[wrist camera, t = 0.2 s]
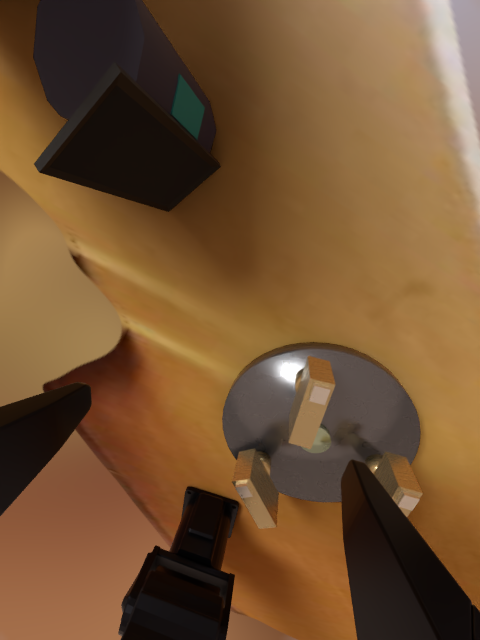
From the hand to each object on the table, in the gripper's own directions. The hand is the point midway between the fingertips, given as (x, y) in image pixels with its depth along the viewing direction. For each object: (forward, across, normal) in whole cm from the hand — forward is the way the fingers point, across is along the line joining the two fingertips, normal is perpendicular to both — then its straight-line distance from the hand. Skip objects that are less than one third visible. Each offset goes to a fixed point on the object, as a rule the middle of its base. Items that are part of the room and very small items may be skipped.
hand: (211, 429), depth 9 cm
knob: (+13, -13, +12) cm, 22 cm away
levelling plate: (+14, -7, +10) cm, 19 cm away
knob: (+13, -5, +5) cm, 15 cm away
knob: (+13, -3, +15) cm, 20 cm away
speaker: (+14, +9, -11) cm, 20 cm away
